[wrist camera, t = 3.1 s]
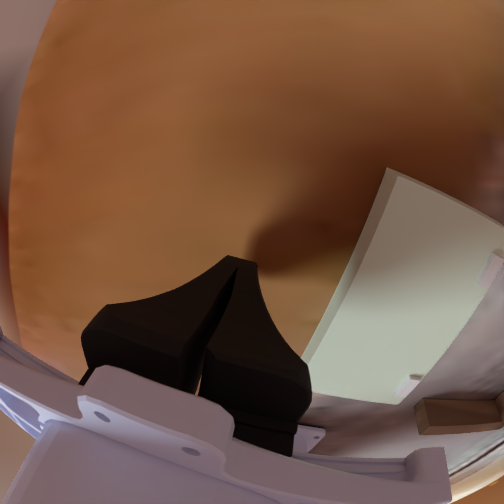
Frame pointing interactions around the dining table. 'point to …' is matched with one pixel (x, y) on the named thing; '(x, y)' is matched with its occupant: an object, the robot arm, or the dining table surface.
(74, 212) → the dining table surface
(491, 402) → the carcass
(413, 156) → the dining table surface
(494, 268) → the door
